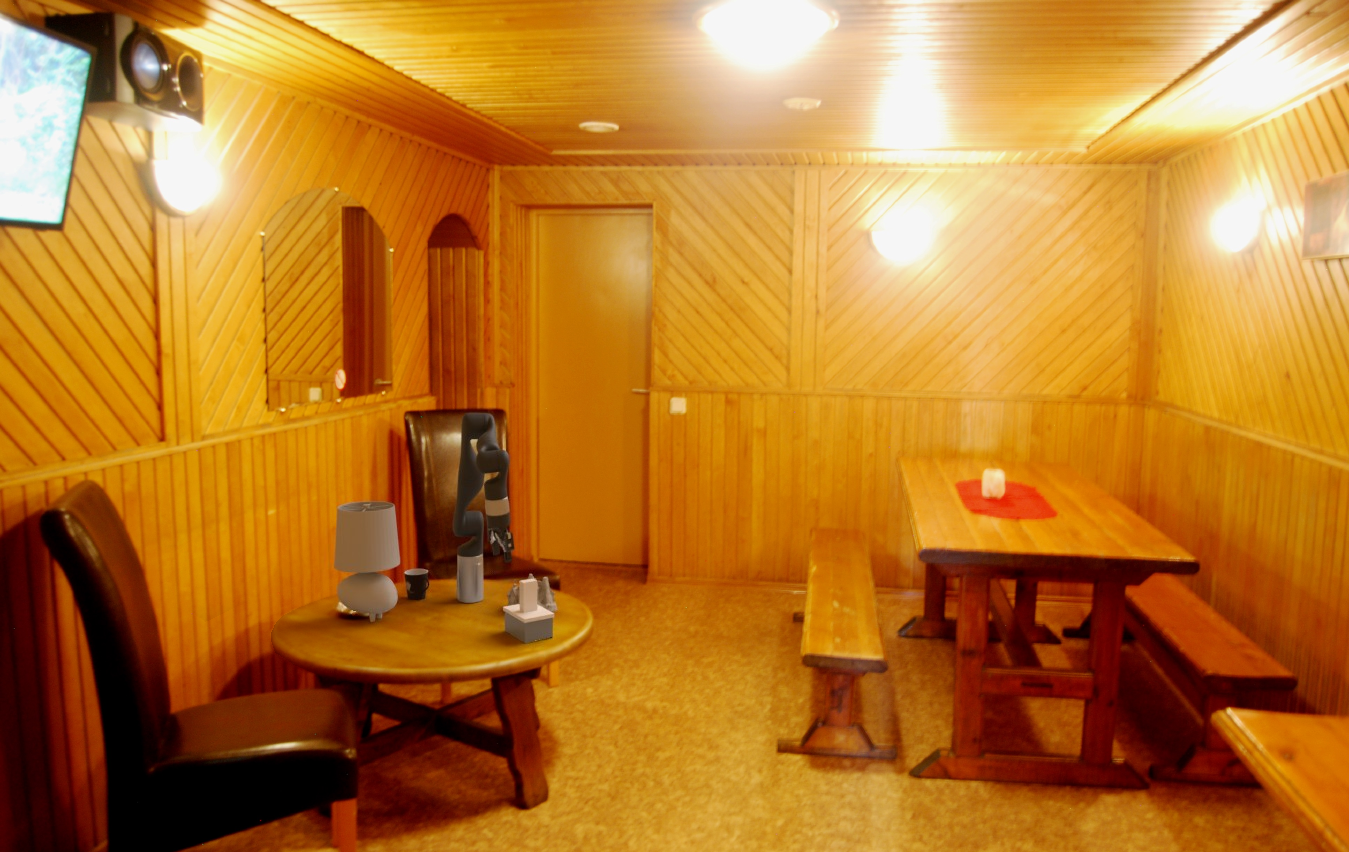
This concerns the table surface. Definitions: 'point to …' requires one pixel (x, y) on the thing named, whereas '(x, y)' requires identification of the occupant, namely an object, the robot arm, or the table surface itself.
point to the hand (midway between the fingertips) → (502, 558)
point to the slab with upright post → (528, 604)
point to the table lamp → (367, 556)
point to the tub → (528, 628)
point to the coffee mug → (416, 583)
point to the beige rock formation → (543, 595)
